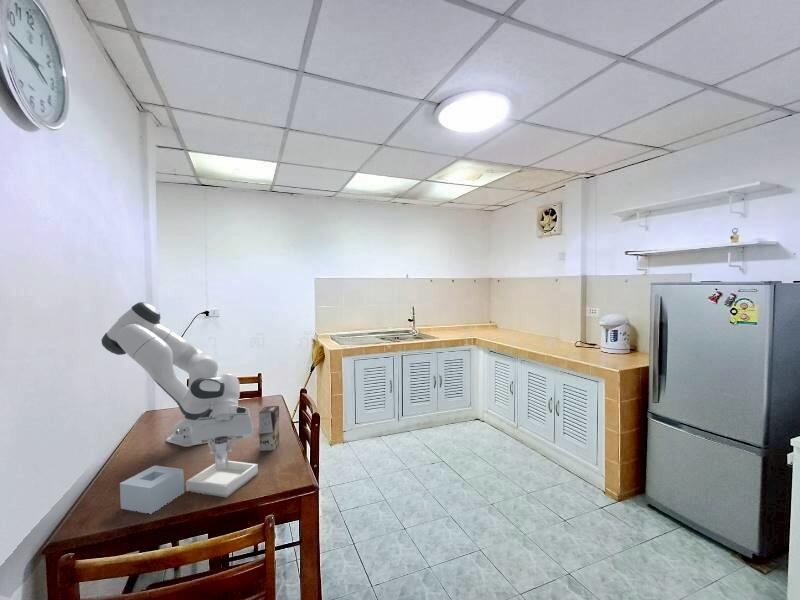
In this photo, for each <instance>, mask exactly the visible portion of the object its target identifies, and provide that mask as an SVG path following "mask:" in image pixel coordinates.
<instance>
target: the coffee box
mask: <svg viewBox="0 0 800 600" xmlns="http://www.w3.org/2000/svg"><path fill="white" fill-rule="evenodd" d="M258 429H259V432H258V434H259V435H258V437H259V439H258V441H259V451H260V452H261V451H265V452H266V451H275V450H276V449H277V446H278V445H279V444H280V442H281V441H280V440H281V439H280V438H281V434H280V431H281V429H280V405H270V406H264V407H263V408H262V409H261V410H260V411H259V412H258Z"/></svg>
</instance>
